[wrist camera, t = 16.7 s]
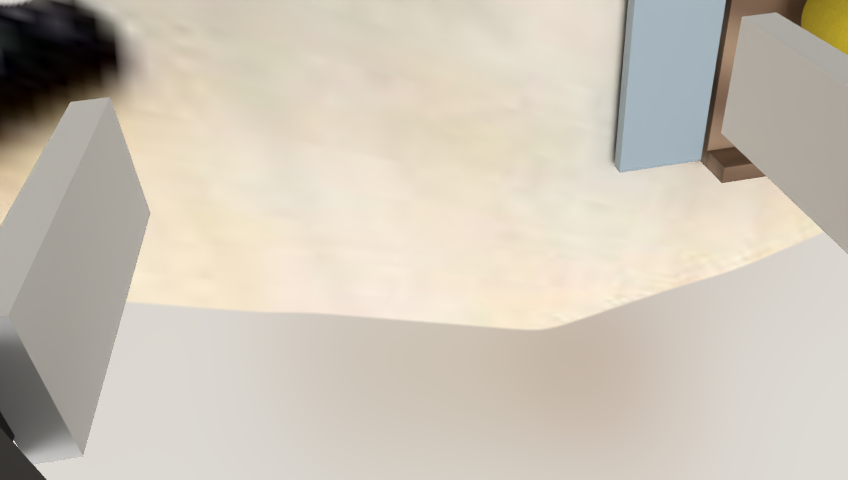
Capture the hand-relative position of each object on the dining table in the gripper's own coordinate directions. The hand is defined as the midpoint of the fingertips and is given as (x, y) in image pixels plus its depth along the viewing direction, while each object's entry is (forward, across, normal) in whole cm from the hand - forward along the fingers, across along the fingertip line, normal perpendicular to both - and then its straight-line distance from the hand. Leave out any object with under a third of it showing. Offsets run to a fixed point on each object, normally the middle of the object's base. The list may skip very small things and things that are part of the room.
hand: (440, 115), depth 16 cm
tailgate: (+29, +22, -10) cm, 38 cm away
